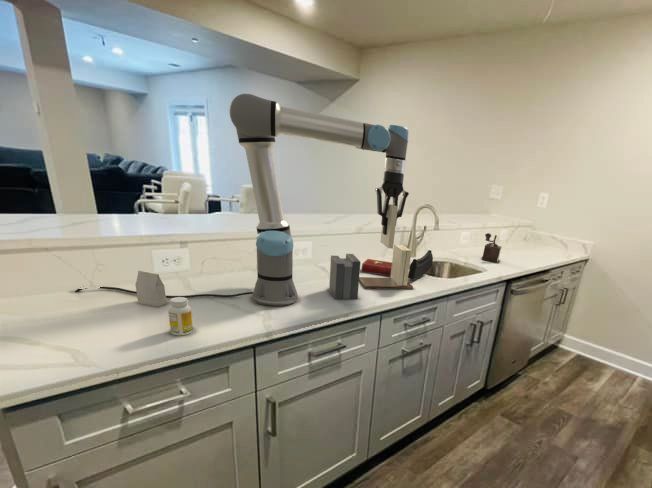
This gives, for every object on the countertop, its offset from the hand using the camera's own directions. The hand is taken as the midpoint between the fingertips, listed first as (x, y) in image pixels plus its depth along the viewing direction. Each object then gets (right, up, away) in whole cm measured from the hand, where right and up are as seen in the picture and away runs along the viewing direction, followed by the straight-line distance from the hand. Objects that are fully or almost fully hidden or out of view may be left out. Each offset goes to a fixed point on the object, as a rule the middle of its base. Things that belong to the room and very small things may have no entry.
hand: (387, 234), depth 153 cm
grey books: (-18, -24, 0) cm, 30 cm away
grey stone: (-73, -30, -32) cm, 85 cm away
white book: (-1, -4, +2) cm, 4 cm away
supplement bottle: (-54, -39, -47) cm, 81 cm away
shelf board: (-3, -18, +20) cm, 27 cm away
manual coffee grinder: (+60, +7, +100) cm, 117 cm away
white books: (+3, -17, +22) cm, 27 cm away
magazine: (+14, -11, +42) cm, 46 cm away
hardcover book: (-4, -10, +39) cm, 40 cm away
